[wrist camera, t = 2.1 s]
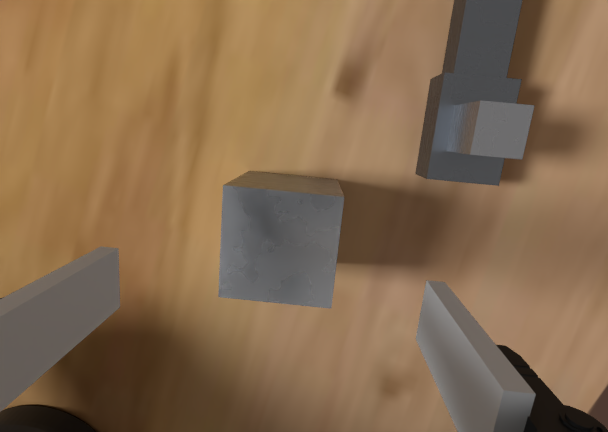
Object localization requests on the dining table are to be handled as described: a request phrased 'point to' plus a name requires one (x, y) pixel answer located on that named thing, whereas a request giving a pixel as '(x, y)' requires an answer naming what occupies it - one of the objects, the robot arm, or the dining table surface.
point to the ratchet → (475, 98)
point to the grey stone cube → (280, 238)
